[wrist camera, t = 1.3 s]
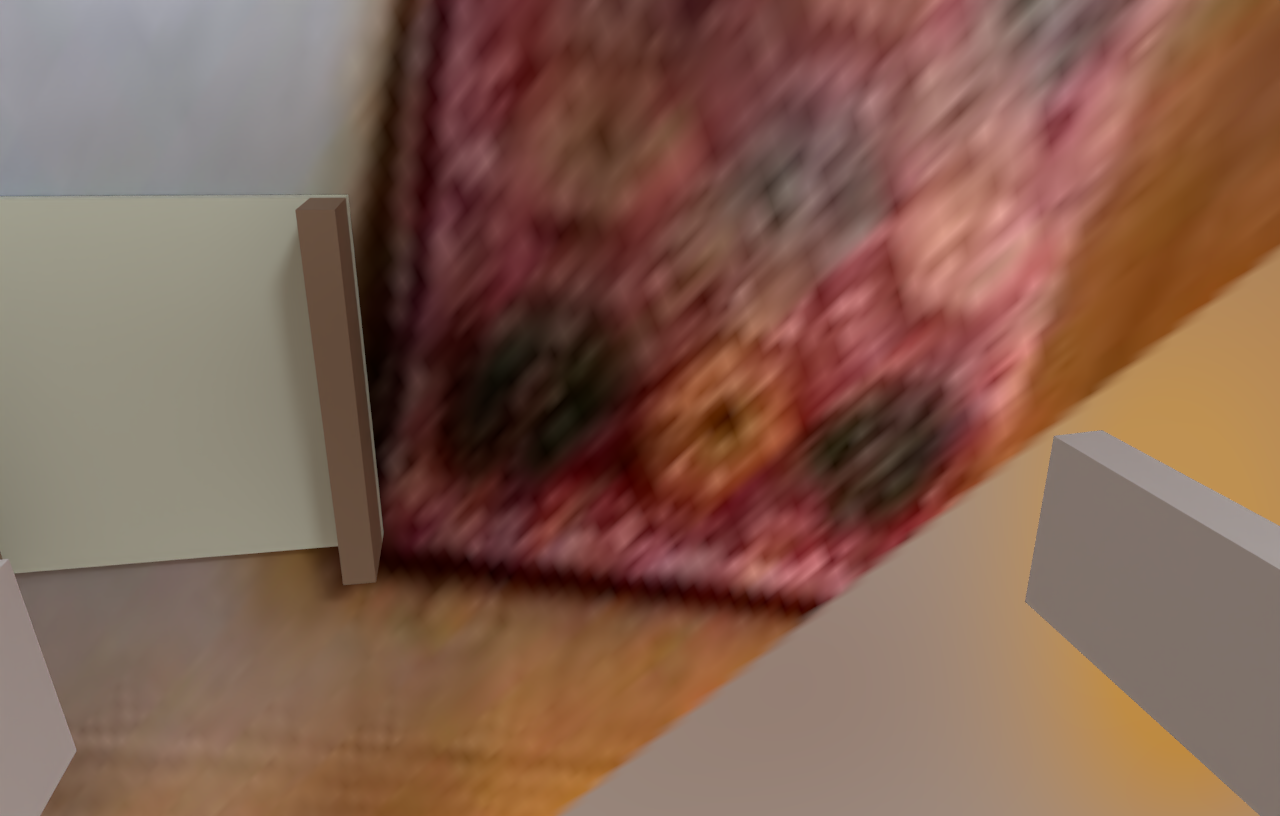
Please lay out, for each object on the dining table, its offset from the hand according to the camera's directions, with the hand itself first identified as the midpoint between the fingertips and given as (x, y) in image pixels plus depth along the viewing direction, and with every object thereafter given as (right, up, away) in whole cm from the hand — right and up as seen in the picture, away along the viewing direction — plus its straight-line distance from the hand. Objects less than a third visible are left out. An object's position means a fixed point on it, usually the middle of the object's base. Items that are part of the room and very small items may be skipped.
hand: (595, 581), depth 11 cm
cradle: (-18, +3, +20) cm, 27 cm away
